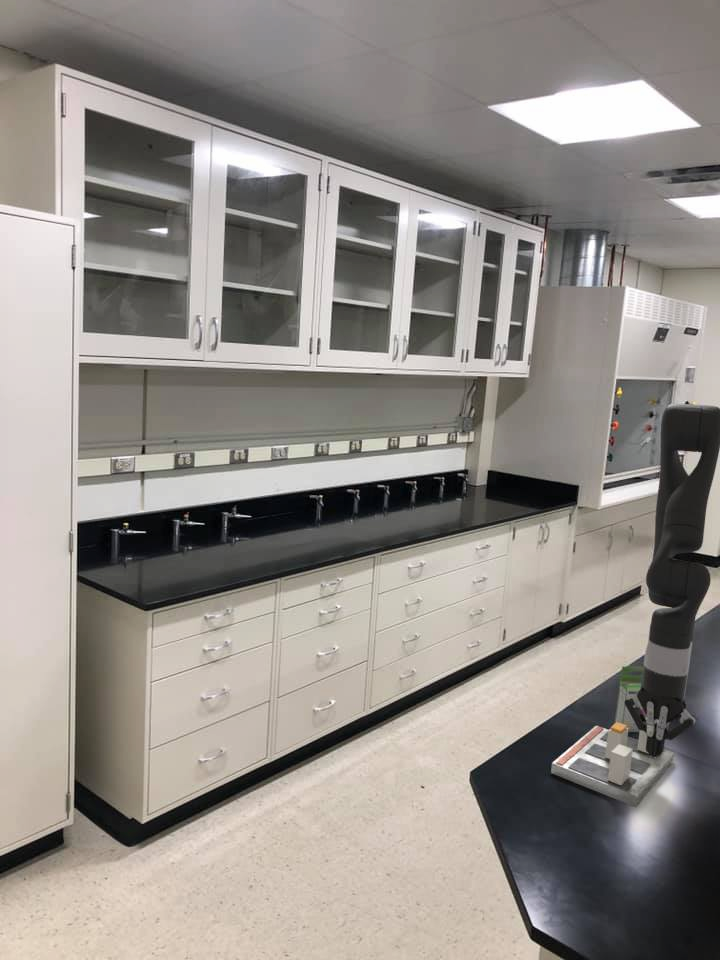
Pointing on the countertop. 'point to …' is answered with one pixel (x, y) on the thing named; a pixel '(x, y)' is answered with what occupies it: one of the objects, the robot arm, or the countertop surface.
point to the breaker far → (642, 741)
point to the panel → (592, 767)
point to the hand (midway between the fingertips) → (653, 755)
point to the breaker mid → (616, 738)
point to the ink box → (627, 689)
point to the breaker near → (620, 764)
